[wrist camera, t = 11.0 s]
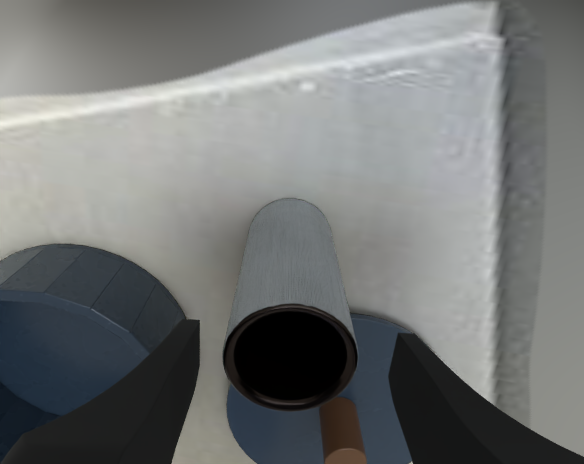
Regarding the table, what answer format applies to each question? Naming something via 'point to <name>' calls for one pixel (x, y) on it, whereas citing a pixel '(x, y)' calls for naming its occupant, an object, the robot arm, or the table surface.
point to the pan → (72, 330)
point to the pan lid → (332, 414)
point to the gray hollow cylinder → (290, 313)
